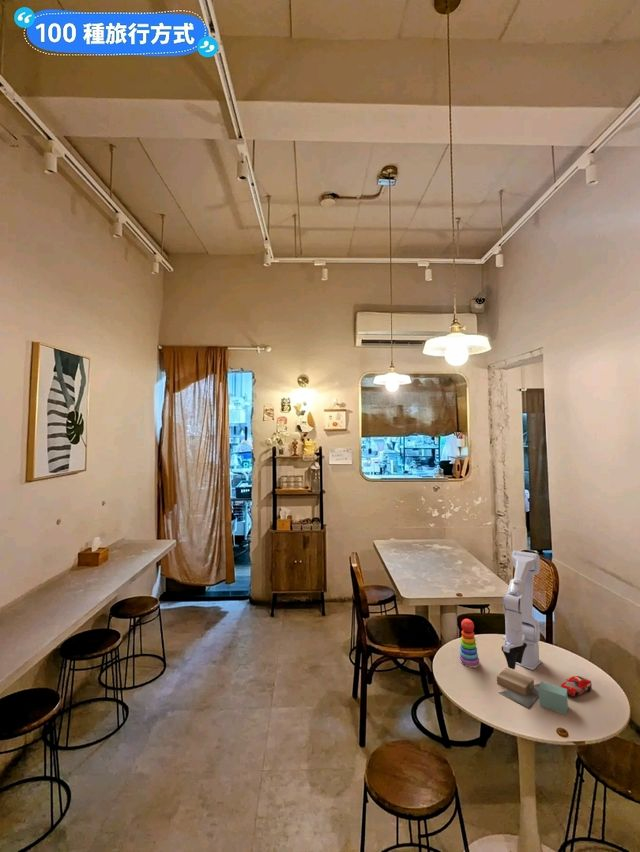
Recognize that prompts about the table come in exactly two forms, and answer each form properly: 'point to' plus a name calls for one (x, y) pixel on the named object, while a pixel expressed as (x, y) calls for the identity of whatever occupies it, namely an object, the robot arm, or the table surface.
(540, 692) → the teal brick
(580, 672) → the table surface
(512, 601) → the robot arm
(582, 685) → the race car
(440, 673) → the table surface
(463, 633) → the stacking toy
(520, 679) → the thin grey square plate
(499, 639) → the table surface
